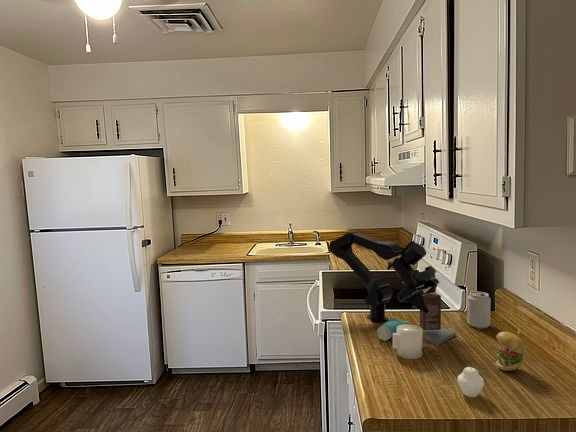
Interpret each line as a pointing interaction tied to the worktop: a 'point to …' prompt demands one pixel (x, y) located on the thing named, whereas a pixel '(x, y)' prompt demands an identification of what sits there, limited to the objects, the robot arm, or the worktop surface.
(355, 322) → the worktop surface
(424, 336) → the walnut block
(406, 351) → the white tapered cup
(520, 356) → the hamburger
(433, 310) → the box
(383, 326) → the tube
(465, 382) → the muffin
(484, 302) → the can
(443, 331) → the coaster
